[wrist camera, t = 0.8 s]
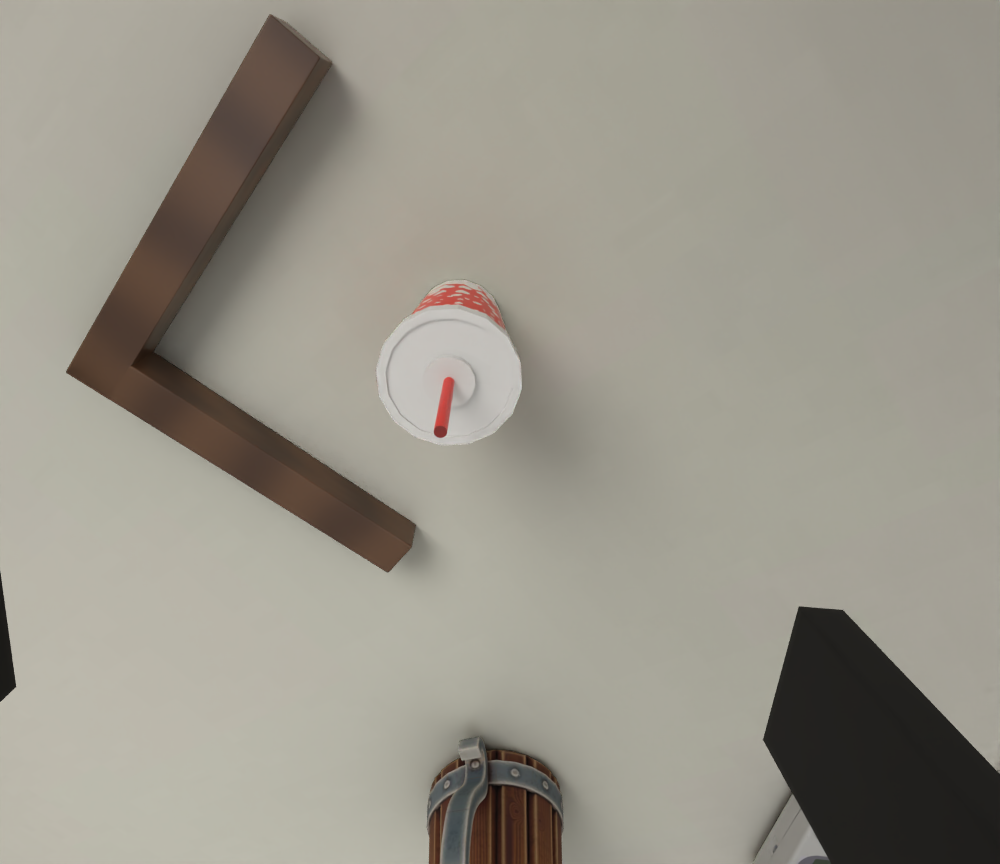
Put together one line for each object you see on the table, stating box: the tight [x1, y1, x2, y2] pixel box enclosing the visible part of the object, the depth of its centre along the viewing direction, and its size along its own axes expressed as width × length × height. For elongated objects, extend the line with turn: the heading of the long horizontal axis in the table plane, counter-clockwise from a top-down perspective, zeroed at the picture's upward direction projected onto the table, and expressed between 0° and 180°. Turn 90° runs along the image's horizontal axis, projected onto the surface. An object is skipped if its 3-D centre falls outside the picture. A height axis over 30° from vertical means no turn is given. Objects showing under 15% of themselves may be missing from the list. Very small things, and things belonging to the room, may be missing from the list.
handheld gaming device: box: [753, 794, 831, 864], centre depth 51 cm, size 9×15×4 cm, turn 169°
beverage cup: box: [376, 280, 522, 445], centre depth 28 cm, size 6×6×14 cm
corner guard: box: [66, 14, 416, 572], centre depth 34 cm, size 16×29×2 cm, turn 5°
